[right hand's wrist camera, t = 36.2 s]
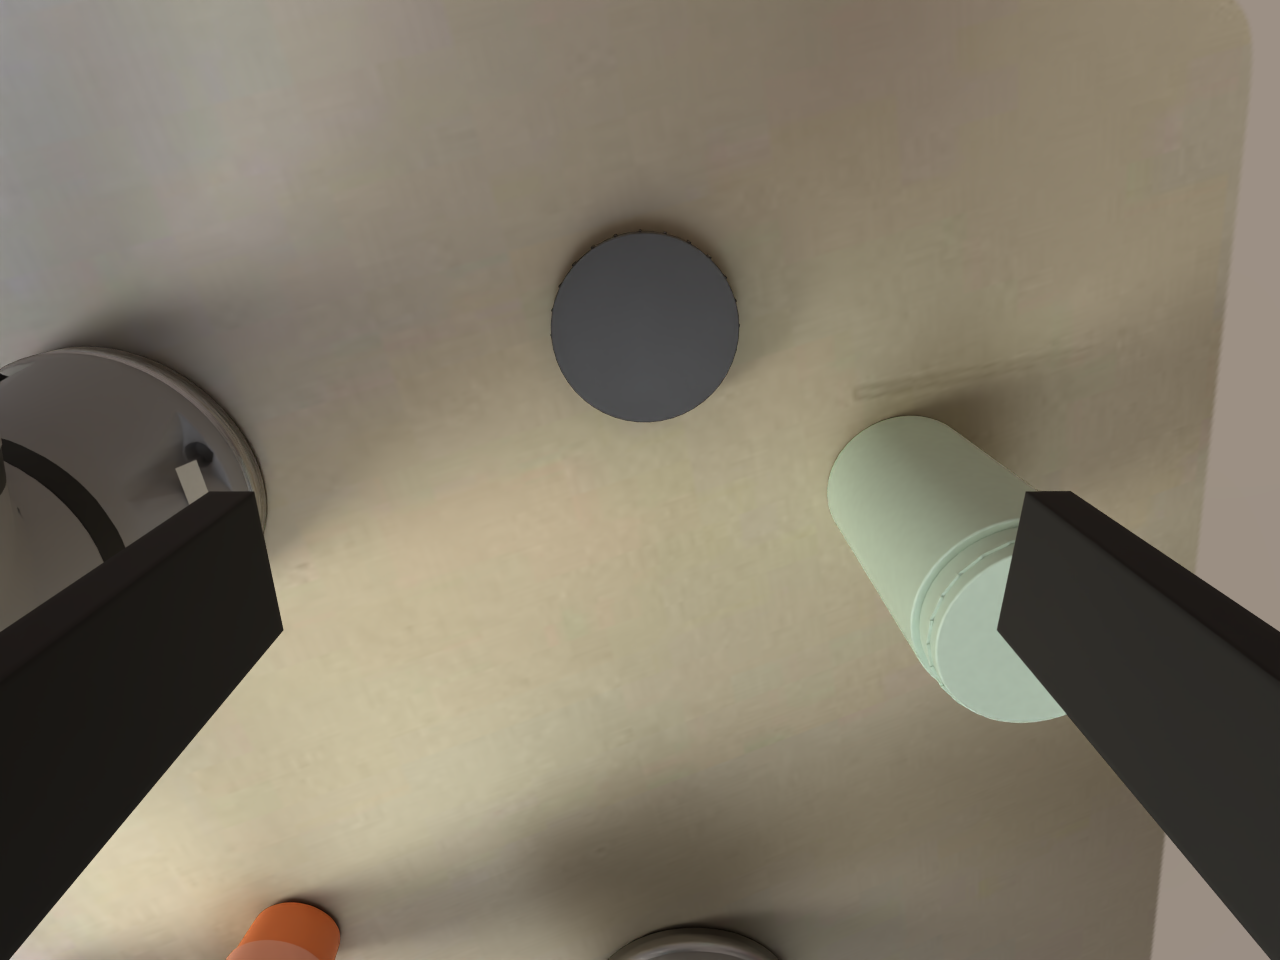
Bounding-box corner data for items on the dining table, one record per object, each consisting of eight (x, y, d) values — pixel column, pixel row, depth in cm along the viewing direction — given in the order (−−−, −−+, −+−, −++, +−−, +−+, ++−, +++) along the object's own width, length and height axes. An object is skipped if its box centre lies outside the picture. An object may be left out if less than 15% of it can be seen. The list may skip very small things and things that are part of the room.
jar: (889, 577, 42) (1014, 765, 28) (796, 487, 40) (881, 642, 26) (1004, 483, 40) (1201, 636, 26) (912, 384, 38) (1072, 491, 24)
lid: (696, 435, 39) (699, 447, 37) (532, 379, 37) (526, 388, 36) (763, 268, 35) (770, 272, 34) (586, 201, 34) (583, 201, 33)
